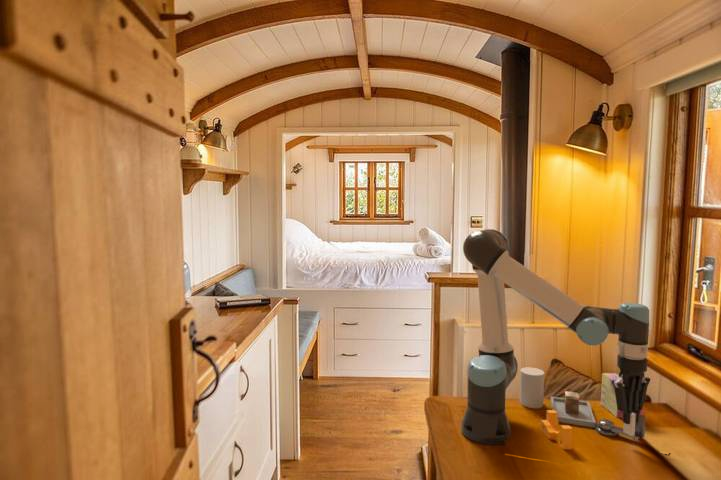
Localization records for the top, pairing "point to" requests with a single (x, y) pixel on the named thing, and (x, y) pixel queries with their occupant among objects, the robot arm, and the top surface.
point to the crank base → (605, 432)
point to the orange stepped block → (557, 430)
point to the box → (609, 394)
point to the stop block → (571, 402)
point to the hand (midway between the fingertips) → (628, 433)
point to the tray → (582, 419)
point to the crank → (609, 427)
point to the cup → (531, 387)
